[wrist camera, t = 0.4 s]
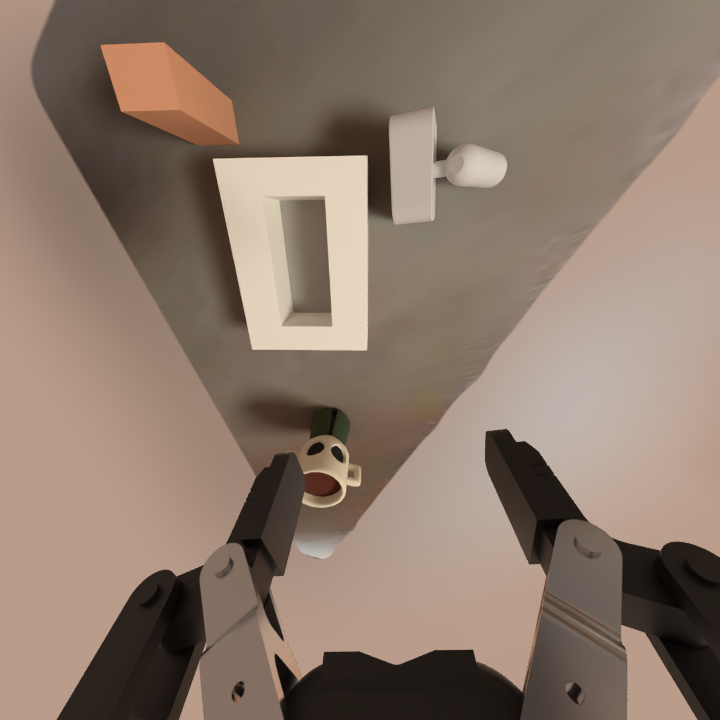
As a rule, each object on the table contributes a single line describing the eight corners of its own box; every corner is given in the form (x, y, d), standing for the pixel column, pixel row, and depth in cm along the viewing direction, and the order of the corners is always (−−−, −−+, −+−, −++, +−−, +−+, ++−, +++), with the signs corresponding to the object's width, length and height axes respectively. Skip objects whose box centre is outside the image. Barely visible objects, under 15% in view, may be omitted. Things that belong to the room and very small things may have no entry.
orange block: (188, 102, 28) (100, 45, 19) (231, 100, 27) (163, 42, 18) (197, 145, 29) (121, 111, 20) (239, 144, 29) (179, 109, 20)
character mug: (368, 412, 44) (367, 480, 33) (357, 444, 48) (353, 515, 36) (303, 397, 44) (277, 460, 32) (296, 430, 47) (271, 499, 35)
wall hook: (499, 212, 30) (519, 212, 22) (406, 222, 33) (392, 225, 25) (510, 119, 27) (539, 76, 18) (405, 139, 30) (387, 110, 21)
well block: (241, 169, 30) (212, 158, 25) (368, 167, 29) (367, 155, 24) (269, 331, 39) (252, 349, 33) (367, 332, 38) (367, 350, 33)
